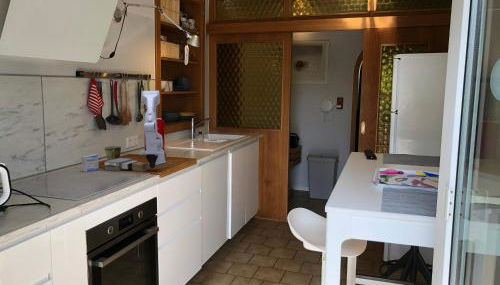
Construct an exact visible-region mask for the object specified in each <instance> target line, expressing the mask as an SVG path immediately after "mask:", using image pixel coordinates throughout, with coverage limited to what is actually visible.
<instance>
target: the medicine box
mask: <svg viewBox="0 0 500 285" xmlns="http://www.w3.org/2000/svg"><path fill="white" fill-rule="evenodd" d="M80 158H81V159H80V160H81V168H82V172H84V173H89V172H94V171H99V170H100V169H99V168H100V167H99V155H98V154H90V155H84V156H83V155H82V156H80Z"/></svg>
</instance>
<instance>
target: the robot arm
mask: <svg viewBox="0 0 500 285" xmlns="http://www.w3.org/2000/svg"><path fill="white" fill-rule="evenodd" d="M160 95H161V94H160V90H142V91H141V97H142V98H141V99H142V101H143V102H142V103H143V105H145V106H146V112H145V113H144V123H143V131H144V137H145V150H141V151H139V154H140V156H145V159H146V160H147V163H149V167H150V168H149V169H154V168H156V167H155V166H158V165H161V164H164V163H166V162H167V161H166V159H165V156H166V154H165V151H164V149H163V148H164V143H163V136H162V134H160V133H159V132H158V121H157V120H158V119H157V106H158V105H160V103H161V96H160Z"/></svg>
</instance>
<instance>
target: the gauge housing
mask: <svg viewBox="0 0 500 285" xmlns="http://www.w3.org/2000/svg"><path fill="white" fill-rule="evenodd" d="M129 160H130V161H134V160H133V158H127V157H125V158H124V157H120V158H117V159H113V160H109V161H108V160H105V161H104V168H105V171H115V172H117V171H118V172H120V171H123V170H125V169H120V167H117V170H116V163H117V166H119V165H120V163H121V162H125V161H129Z"/></svg>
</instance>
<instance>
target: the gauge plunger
mask: <svg viewBox="0 0 500 285" xmlns="http://www.w3.org/2000/svg"><path fill="white" fill-rule="evenodd" d="M137 162H140V161H139V160H133V161H130V160H129V161H125V162H121V163H120V165H119V166H117V163H116V170H117V167H120V169H124V170H130V169H131V170H132V163H137Z"/></svg>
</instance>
